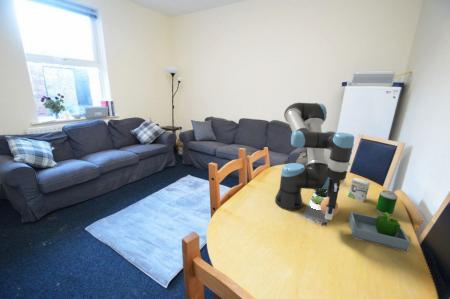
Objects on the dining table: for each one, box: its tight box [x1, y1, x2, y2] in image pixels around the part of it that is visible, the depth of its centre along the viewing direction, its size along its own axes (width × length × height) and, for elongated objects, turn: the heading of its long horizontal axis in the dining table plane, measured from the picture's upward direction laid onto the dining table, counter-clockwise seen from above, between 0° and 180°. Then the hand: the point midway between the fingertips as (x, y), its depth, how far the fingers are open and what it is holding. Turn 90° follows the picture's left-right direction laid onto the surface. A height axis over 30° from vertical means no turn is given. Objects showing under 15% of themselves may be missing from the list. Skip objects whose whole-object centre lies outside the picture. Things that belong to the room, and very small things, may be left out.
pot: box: [295, 148, 326, 168], centre depth 158 cm, size 21×21×25 cm
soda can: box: [375, 189, 398, 216], centre depth 112 cm, size 8×8×12 cm
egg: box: [319, 197, 339, 216], centre depth 96 cm, size 7×7×8 cm
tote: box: [348, 211, 411, 252], centre depth 95 cm, size 20×15×5 cm
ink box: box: [347, 177, 371, 203], centre depth 126 cm, size 9×5×12 cm, turn 39°
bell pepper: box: [376, 212, 401, 237], centre depth 93 cm, size 8×8×10 cm
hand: (327, 213), depth 97 cm, fingers closed on egg, 7 cm apart
